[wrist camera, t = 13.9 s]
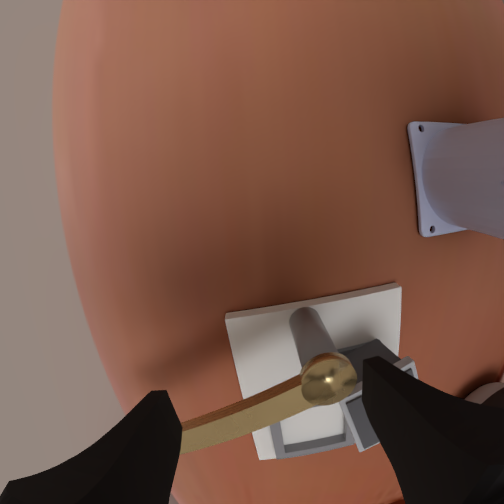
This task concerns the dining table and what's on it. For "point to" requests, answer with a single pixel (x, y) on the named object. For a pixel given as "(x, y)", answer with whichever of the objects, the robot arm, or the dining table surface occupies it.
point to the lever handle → (274, 403)
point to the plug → (353, 401)
